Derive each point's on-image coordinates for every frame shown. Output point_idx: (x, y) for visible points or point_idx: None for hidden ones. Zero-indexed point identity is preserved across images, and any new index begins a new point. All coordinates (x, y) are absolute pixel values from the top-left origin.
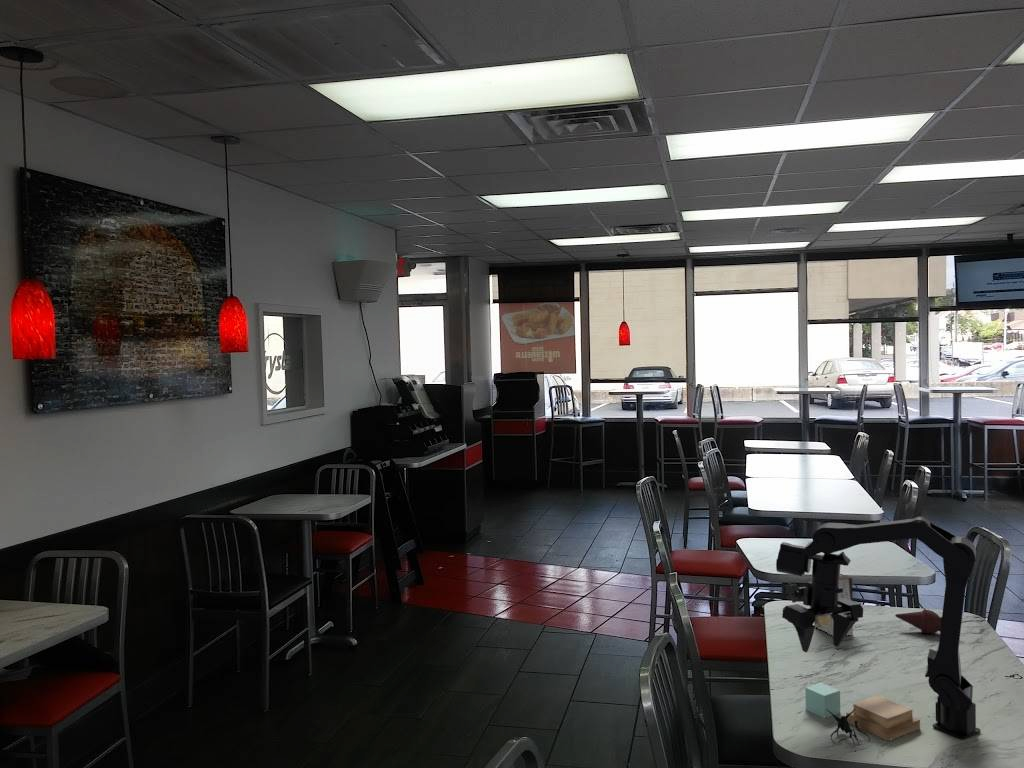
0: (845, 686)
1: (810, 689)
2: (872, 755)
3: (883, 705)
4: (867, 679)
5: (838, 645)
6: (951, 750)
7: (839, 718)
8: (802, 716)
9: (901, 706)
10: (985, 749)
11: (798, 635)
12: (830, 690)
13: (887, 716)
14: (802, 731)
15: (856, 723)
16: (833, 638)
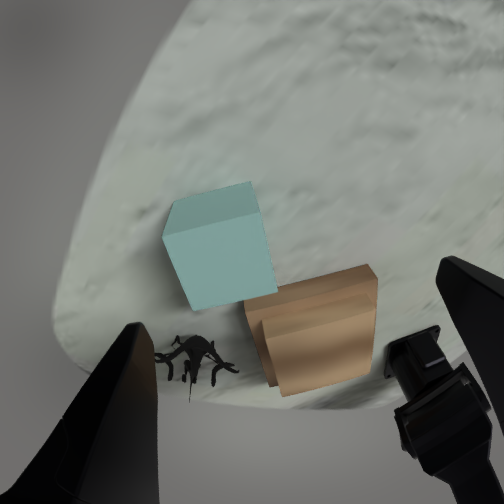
0: (417, 102)
1: (171, 257)
2: (200, 393)
3: (333, 355)
4: (487, 102)
5: (445, 291)
6: (338, 394)
7: (193, 347)
8: (139, 239)
9: (365, 361)
10: (381, 392)
11: (61, 425)
12: (244, 283)
13: (291, 391)
14: (104, 304)
15: (214, 377)
16: (471, 284)
